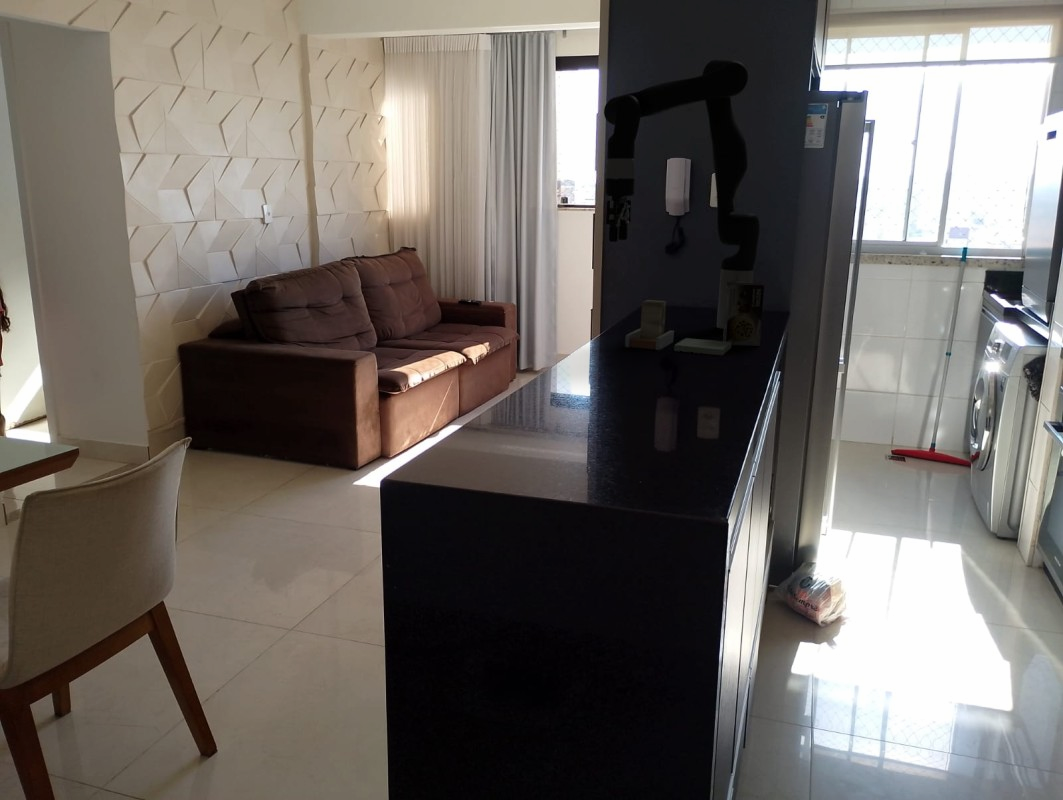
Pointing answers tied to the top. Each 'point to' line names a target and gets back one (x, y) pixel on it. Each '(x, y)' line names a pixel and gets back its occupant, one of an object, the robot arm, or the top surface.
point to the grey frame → (648, 340)
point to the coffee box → (743, 313)
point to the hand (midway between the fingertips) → (618, 240)
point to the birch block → (652, 319)
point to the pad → (703, 346)
